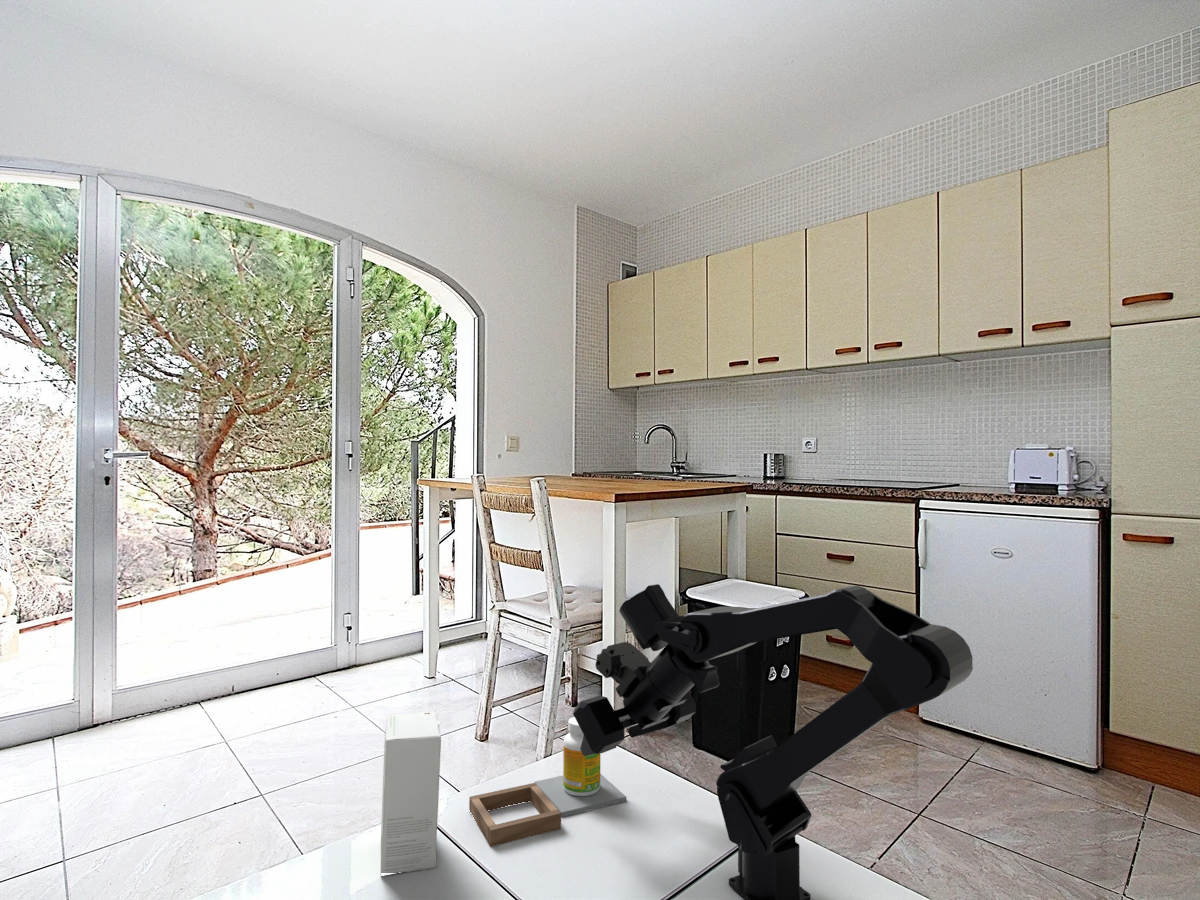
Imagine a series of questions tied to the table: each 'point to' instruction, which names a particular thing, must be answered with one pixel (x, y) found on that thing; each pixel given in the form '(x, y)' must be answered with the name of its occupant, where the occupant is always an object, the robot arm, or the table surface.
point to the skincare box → (410, 792)
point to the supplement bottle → (579, 764)
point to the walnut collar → (520, 827)
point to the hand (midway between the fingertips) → (607, 742)
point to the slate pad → (579, 803)
